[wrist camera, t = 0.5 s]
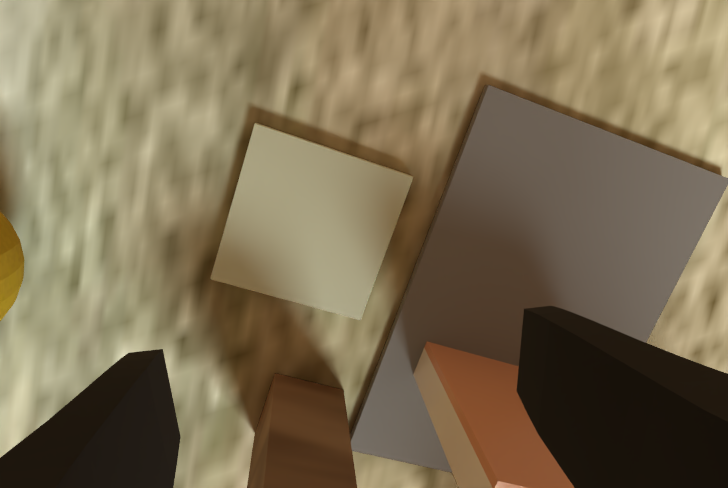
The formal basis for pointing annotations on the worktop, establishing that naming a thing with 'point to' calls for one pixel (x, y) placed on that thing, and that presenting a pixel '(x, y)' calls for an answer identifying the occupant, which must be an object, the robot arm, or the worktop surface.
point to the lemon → (9, 265)
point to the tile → (483, 422)
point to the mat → (533, 252)
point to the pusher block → (302, 438)
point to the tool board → (309, 223)
